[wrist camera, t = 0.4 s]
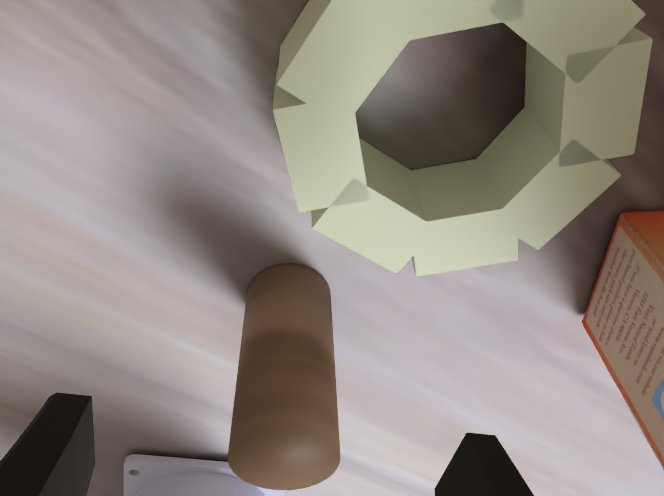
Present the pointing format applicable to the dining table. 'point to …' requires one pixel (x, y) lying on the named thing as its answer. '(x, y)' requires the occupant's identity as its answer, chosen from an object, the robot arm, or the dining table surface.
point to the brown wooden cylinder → (286, 383)
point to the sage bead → (472, 175)
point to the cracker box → (634, 319)
